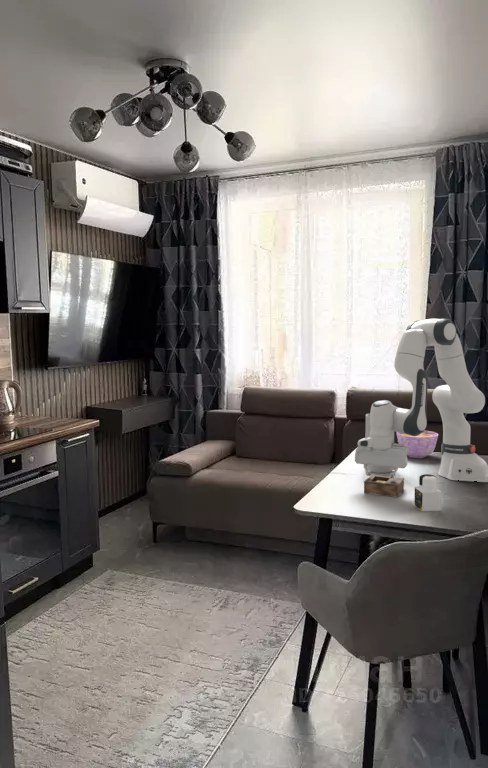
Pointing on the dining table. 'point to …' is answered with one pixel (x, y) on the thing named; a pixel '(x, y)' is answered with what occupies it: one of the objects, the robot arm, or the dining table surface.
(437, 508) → the medicine bottle
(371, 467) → the cylinder vase
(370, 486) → the brown wooden frame
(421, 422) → the robot arm
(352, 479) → the dining table surface
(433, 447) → the bowl of food
